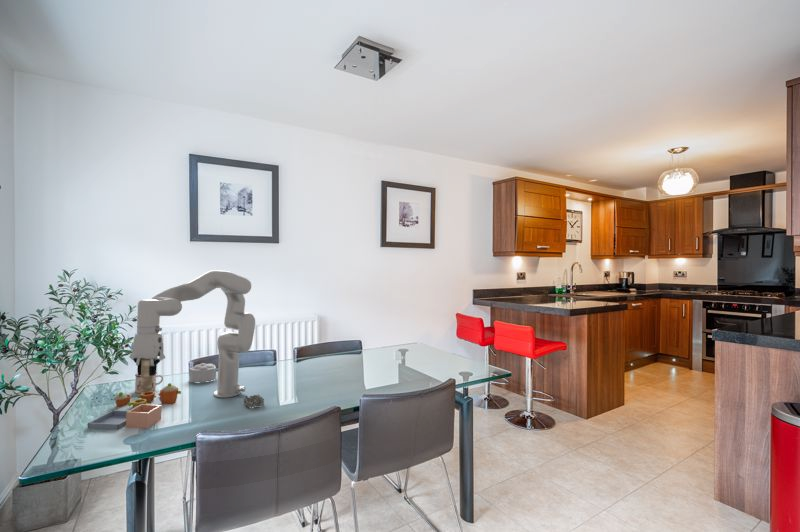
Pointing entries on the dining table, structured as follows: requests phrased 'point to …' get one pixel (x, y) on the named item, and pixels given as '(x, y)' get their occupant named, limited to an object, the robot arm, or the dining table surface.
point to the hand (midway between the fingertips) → (146, 374)
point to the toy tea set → (149, 397)
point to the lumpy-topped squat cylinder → (202, 373)
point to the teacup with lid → (138, 382)
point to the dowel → (145, 376)
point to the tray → (110, 420)
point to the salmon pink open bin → (143, 416)
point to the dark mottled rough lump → (254, 401)
